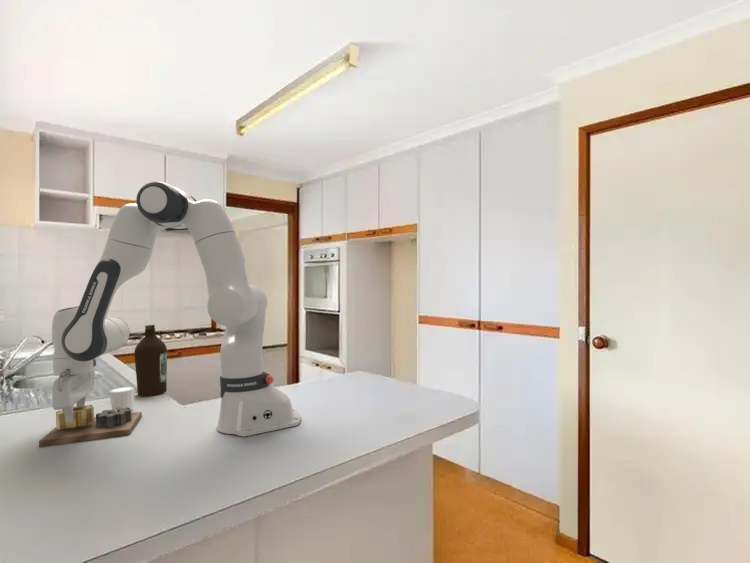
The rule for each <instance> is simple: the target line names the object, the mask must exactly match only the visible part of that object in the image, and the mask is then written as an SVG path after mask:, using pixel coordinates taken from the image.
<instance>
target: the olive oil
mask: <svg viewBox="0 0 750 563" xmlns="http://www.w3.org/2000/svg"><path fill="white" fill-rule="evenodd" d="M144 327H145V329H144V337H143V338H142V339H141V340H140V341H139V342H138V343H137V345H136V346H135V349H134V354H133V355H134V363H135V364H134V365H135V366H134V367H135V376H136V387H137V388H136V389H137V396H139V397H155V396H160V395H162V394H165V393H166V392H167V390H168V388H167V383H168V382H167V374H168V372H167V370H168V369H167V368H168V362H167V361H168V348H167V345H166V344H165V342H164V341H163V340H162V339H160V338H159V337H158V336H157V335H156V328H155V327H156V325H155V324H145V326H144Z"/></svg>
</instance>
